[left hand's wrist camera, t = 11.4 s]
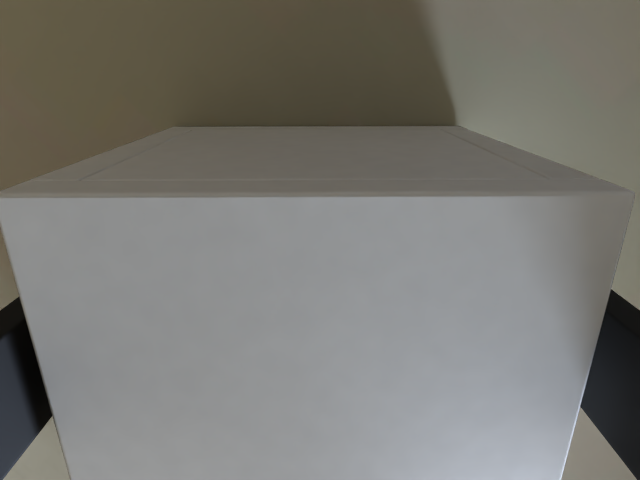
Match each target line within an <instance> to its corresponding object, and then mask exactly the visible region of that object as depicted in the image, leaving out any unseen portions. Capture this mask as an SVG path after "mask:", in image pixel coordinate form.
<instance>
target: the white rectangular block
mask: <svg viewBox="0 0 640 480" xmlns="http://www.w3.org/2000/svg"><path fill="white" fill-rule="evenodd" d="M634 199H635V193H634V192H633V191H631V190H629V189H626V188H623V187H621V186H618V185H615V184H613V183H610V182H607V181H605V180H602V179H598V178H596V177H594V176H591V175H588V174H586V173H583V172H580V171H578V170H575V169H572V168H570V167H567V166H564V165H561V164H559V163H556V162H553V161H551V160H548V159H545V158H543V157H540V156H537V155H535V154H532V153H529V152H527V151H524V150H521V149H519V148H516V147H513V146H510V145H508V144H505V143H502V142H500V141H497V140H494V139H492V138H489V137H486V136H484V135H481V134H478V133H476V132H473V131H470V130H468V129H466V128H463V127H460V126H282V127H171V128H169V129H166V130H163V131H161V132H158V133H155V134H153V135H150V136H147V137H144V138H142V139H139V140H136V141H134V142H131V143H128V144H125V145H123V146H120V147H117V148H115V149H112V150H109V151H106V152H104V153H101V154H98V155H96V156H93V157H90V158H87V159H85V160H82V161H79V162H77V163H74V164H71V165H68V166H66V167H63V168H60V169H58V170H55V171H52V172H49V173H47V174H44V175H41V176H39V177H36V178H33V179H31V180H29V181H26V182H23V183H20V184H18V185H15V186H12V187H10V188H7V189H4V190H1V191H0V228H1V232H2V235H3V239H4V242H5V246H6V250H7V253H8V257H9V260H10V264H11V268H12V271H13V275H14V278H15V282H16V286H17V289H18V293H19V296H20V300H21V304H22V307H23V311H24V314H25V318H26V322H27V325H28V329H29V333H30V336H31V340H32V343H33V347H34V351H35V354H36V358H37V361H38V365H39V369H40V372H41V376H42V379H43V383H44V387H45V390H46V394H47V397H48V401H49V405H50V408H51V412H52V415H53V419H54V423H55V426H56V430H57V434H58V437H59V441H60V444H61V448H62V452H63V455H64V459H65V462H66V466H67V470H68V473H69V477H70V480H561V477H562V474H563V470H564V466H565V462H566V458H567V455H568V451H569V447H570V443H571V439H572V435H573V432H574V428H575V424H576V420H577V416H578V413H579V409H580V405H581V401H582V397H583V394H584V390H585V386H586V382H587V378H588V374H589V371H590V367H591V363H592V359H593V355H594V352H595V348H596V344H597V340H598V336H599V333H600V329H601V325H602V321H603V317H604V313H605V310H606V306H607V302H608V298H609V294H610V291H611V287H612V283H613V279H614V275H615V272H616V268H617V264H618V260H619V256H620V252H621V249H622V245H623V241H624V237H625V233H626V230H627V226H628V222H629V218H630V214H631V211H632V207H633V203H634Z"/></svg>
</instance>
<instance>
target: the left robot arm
mask: <svg viewBox="0 0 640 480" xmlns="http://www.w3.org/2000/svg"><path fill="white" fill-rule="evenodd" d="M580 406H581V408H582V409H583V410H584V412H585V413H586V414H587V415H588V417H589V418H590V419H591V421H592V422H593V423H594V425H595V426H596V427H597V428H598V430H599V431H600V432H601V434H602V435H603V436H604V437H605V439H606V440H607V441H608V443H609V444H610V445H611V446H612V448H613V449H614V450H615V452H616V453H617V454H618V455H619V457H620V458H621V459H622V461H623V462H624V463H625V464H626V466H627V467H628V468H629V470H630V471H631V472H632V473H633V475H634V476H635V477H636V479H637V480H640V311H639V310H638V309H637V308H635V307H634V306H633V305H631V304H630V303H629V302H627V301H626V300H625V299H623V298H622V297H621V296H619V295H618V294H617V293H615V292H614V291H613V290H611V291H610V294H609V298H608V302H607V306H606V310H605V313H604V317H603V321H602V325H601V329H600V333H599V336H598V340H597V344H596V348H595V352H594V355H593V359H592V363H591V367H590V371H589V374H588V378H587V382H586V386H585V390H584V394H583V397H582V401H581V405H580ZM51 417H52V412H51V408H50V405H49V401H48V397H47V394H46V390H45V387H44V383H43V379H42V376H41V372H40V369H39V365H38V361H37V358H36V354H35V351H34V347H33V343H32V340H31V336H30V333H29V329H28V325H27V322H26V318H25V314H24V311H23V307H22V304H21V300H20V296H19V297H18V298H17V299H15V300H14V301H13V302H11V303H10V304H9V305H7V306H6V307H5V308H3V309H2V310H1V311H0V480H3V479H4V477H5V476H6V475H7V473H8V472H9V471H10V470H11V468H12V467H13V466H14V464H15V463H16V462H17V461H18V459H19V458H20V457H21V455H22V454H23V453H24V452H25V450H26V449H27V448H28V446H29V445H30V444H31V443H32V441H33V440H34V439H35V437H36V436H37V435H38V434H39V432H40V431H41V430H42V428H43V427H44V426H45V425H46V423H47V422H48V421H49V419H50V418H51Z"/></svg>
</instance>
